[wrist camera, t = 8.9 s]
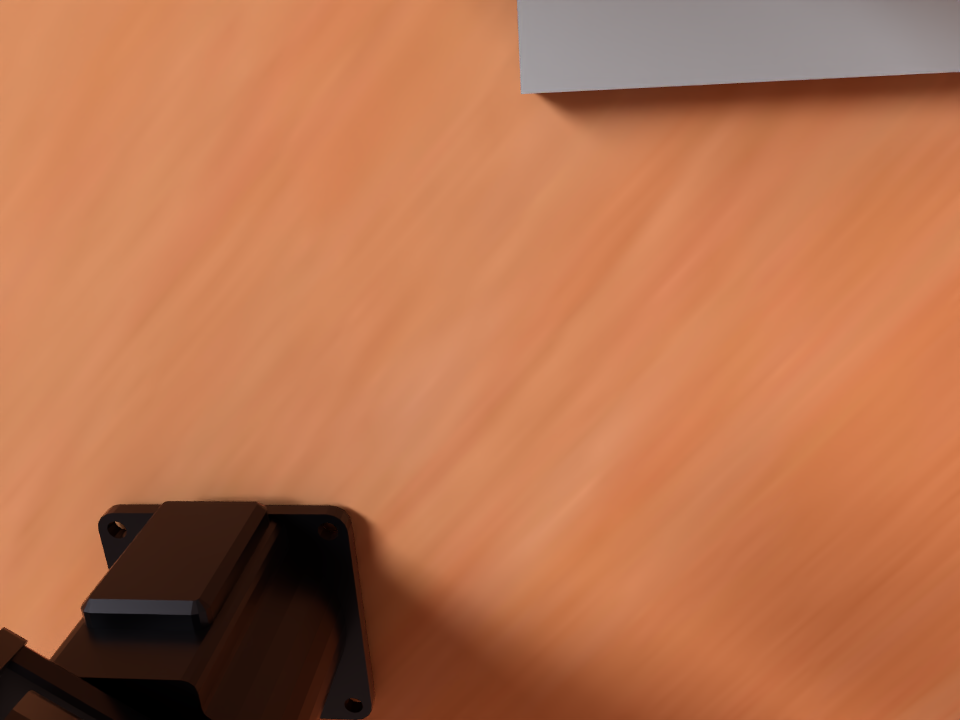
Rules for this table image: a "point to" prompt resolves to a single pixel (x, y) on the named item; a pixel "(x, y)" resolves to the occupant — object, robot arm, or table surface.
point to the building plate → (729, 41)
